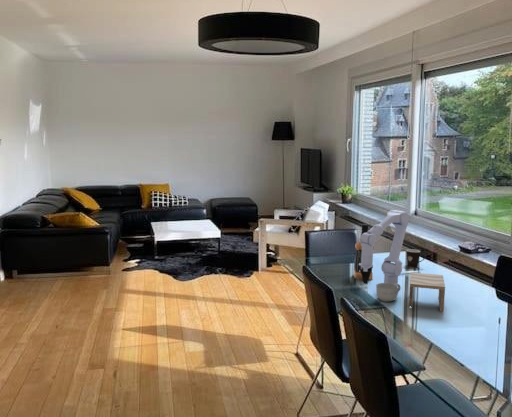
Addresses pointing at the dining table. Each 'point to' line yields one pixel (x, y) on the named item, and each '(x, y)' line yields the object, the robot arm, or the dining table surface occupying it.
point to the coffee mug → (413, 257)
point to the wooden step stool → (428, 285)
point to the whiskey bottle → (358, 255)
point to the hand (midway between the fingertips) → (366, 281)
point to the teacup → (387, 291)
